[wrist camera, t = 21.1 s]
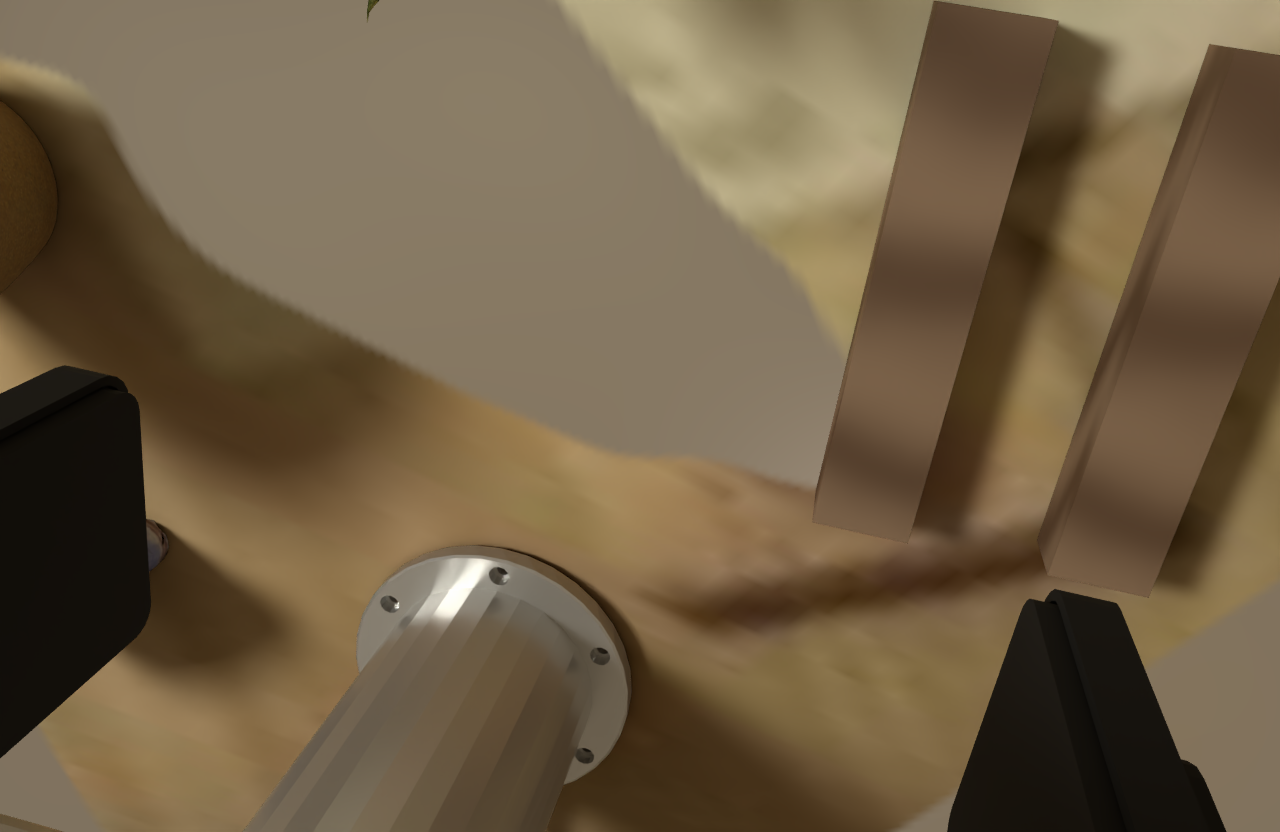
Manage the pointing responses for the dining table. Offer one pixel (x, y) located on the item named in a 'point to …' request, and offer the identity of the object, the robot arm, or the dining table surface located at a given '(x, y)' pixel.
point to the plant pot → (23, 196)
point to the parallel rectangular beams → (1140, 333)
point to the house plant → (371, 6)
